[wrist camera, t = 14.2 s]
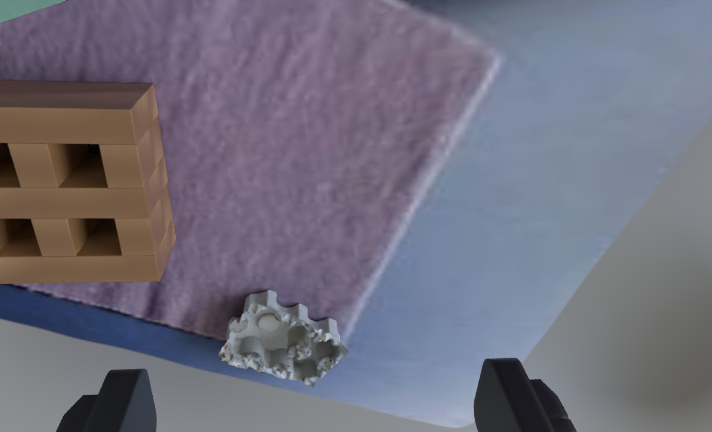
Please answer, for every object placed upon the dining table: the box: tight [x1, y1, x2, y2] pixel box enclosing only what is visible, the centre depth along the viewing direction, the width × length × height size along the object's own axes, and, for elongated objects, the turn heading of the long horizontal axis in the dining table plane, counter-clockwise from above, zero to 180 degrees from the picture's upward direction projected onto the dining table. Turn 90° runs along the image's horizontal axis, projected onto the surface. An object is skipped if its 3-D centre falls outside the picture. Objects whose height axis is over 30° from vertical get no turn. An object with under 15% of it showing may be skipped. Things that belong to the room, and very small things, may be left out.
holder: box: [0, 80, 176, 284], centre depth 38 cm, size 14×14×6 cm
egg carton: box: [218, 290, 348, 387], centre depth 49 cm, size 11×8×4 cm
